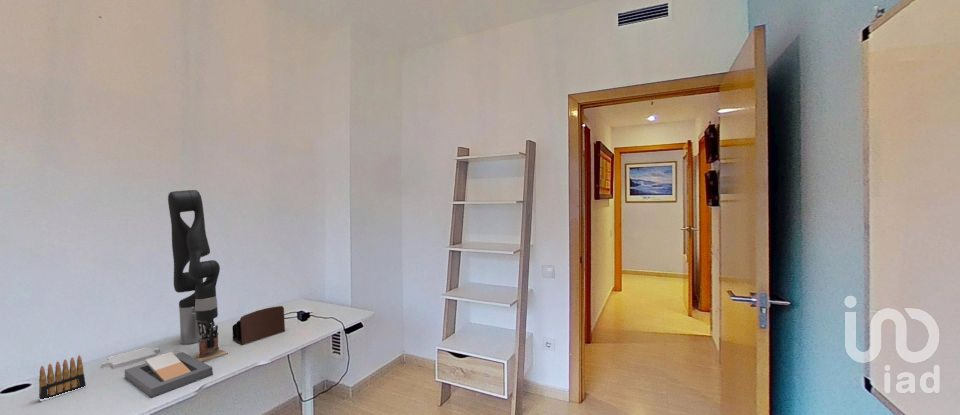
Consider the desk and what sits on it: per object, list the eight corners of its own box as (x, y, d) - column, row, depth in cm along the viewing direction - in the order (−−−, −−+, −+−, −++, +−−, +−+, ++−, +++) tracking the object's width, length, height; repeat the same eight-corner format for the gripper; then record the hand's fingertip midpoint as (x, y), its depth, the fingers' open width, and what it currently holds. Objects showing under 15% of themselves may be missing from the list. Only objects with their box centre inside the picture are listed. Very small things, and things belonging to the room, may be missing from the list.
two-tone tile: (145, 362, 140) (145, 359, 140) (171, 354, 147) (171, 351, 146) (165, 384, 130) (165, 382, 129) (192, 374, 136) (192, 372, 136)
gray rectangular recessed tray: (124, 377, 138) (124, 369, 138) (182, 358, 153) (182, 351, 153) (151, 397, 123) (151, 389, 123) (212, 374, 138) (212, 367, 138)
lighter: (203, 358, 152) (202, 335, 151) (196, 356, 153) (196, 334, 151) (221, 349, 160) (220, 327, 159) (214, 347, 160) (214, 326, 159)
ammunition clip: (83, 385, 132) (81, 353, 132) (85, 387, 132) (83, 354, 131) (39, 401, 123) (36, 366, 123) (40, 402, 122) (38, 367, 122)
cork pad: (190, 357, 154) (190, 356, 154) (217, 349, 162) (217, 347, 162) (200, 363, 149) (200, 361, 149) (227, 353, 157) (227, 352, 157)
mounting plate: (155, 348, 166) (155, 344, 165) (163, 355, 158) (163, 351, 158) (99, 364, 151) (98, 359, 151) (104, 372, 143) (104, 367, 143)
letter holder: (285, 331, 182) (284, 304, 182) (241, 345, 166) (240, 315, 165) (275, 328, 188) (274, 301, 187) (232, 341, 172) (231, 312, 171)
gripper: (188, 307, 155) (191, 346, 156) (203, 312, 148) (205, 353, 148) (209, 302, 162) (211, 340, 162) (224, 307, 154) (226, 346, 155)
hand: (208, 346), depth 155 cm, fingers closed on lighter, 4 cm apart
